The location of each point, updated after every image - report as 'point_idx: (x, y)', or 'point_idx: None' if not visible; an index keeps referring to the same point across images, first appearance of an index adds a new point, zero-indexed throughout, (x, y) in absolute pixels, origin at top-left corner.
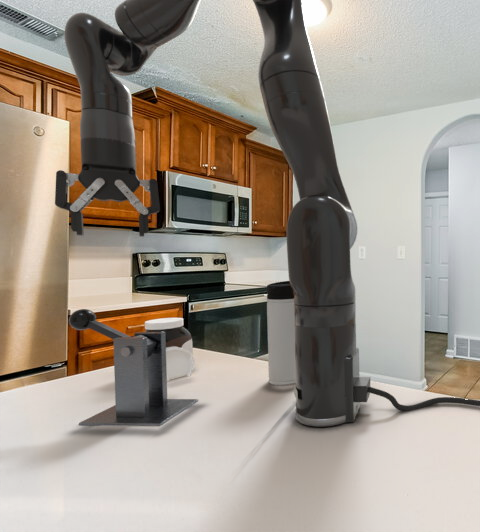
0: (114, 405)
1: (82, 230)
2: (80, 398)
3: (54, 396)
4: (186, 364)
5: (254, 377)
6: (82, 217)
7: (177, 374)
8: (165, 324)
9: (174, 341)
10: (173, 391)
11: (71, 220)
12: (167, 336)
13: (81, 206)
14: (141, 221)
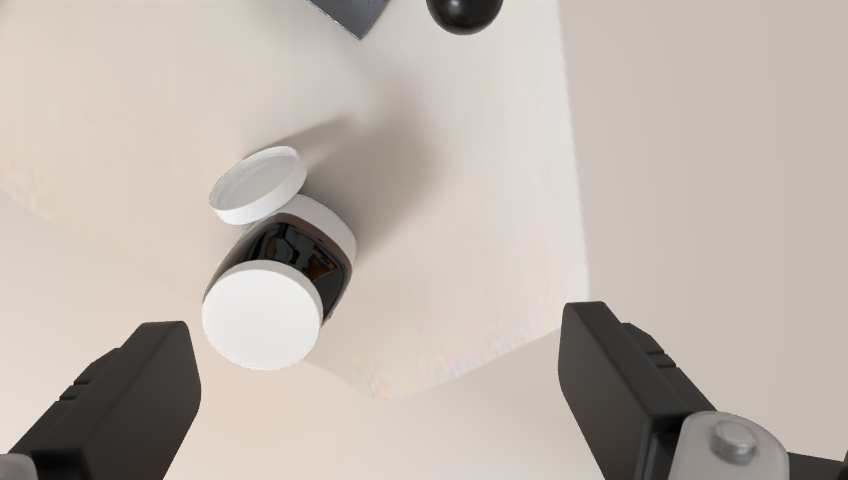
0: (383, 4)
1: (573, 346)
2: (459, 175)
3: (508, 224)
4: (234, 201)
5: (64, 91)
6: (615, 463)
7: (260, 179)
8: (255, 267)
9: (245, 237)
10: (270, 98)
11: (681, 375)
12: (258, 238)
13: (681, 462)
14: (97, 393)
